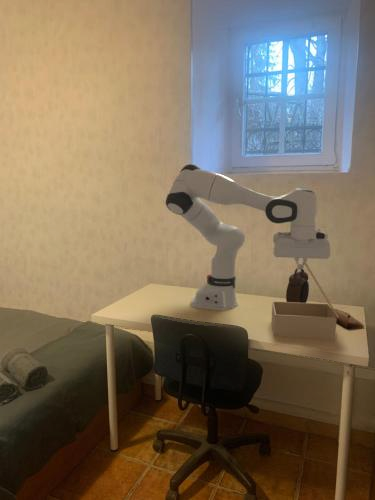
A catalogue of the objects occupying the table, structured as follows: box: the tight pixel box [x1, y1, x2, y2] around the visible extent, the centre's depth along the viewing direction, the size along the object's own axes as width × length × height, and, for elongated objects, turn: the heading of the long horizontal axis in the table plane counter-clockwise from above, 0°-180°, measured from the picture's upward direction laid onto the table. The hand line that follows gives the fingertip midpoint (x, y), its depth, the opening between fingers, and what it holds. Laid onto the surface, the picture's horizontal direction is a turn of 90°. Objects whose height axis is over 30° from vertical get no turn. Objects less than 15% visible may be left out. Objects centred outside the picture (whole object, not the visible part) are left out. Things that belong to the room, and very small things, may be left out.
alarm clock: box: [285, 267, 310, 303], centre depth 176 cm, size 14×7×20 cm, turn 144°
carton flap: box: [300, 258, 339, 318], centre depth 145 cm, size 22×16×1 cm
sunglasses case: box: [330, 307, 365, 330], centre depth 161 cm, size 18×7×7 cm
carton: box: [271, 300, 337, 342], centre depth 149 cm, size 22×16×10 cm
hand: (300, 269), depth 143 cm, fingers closed
